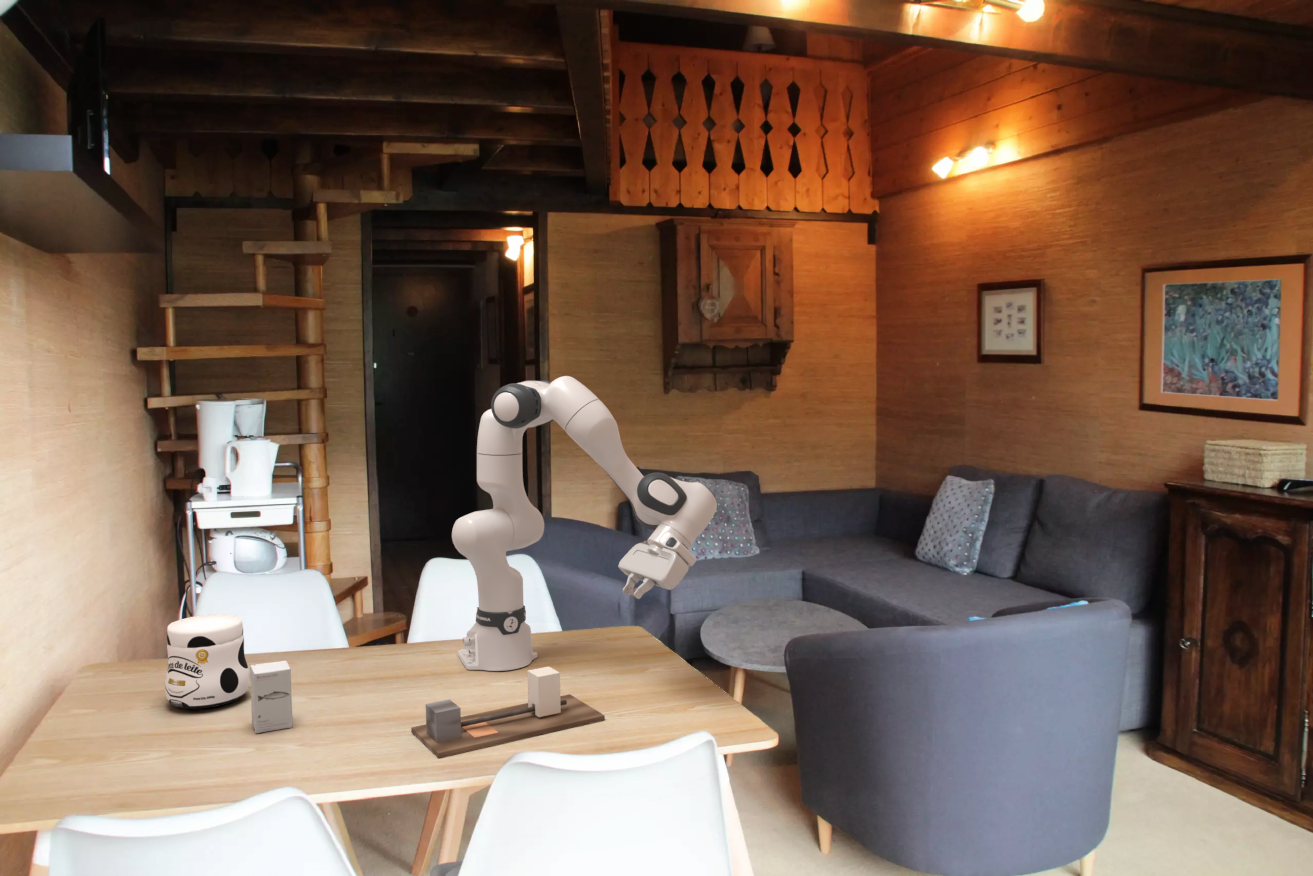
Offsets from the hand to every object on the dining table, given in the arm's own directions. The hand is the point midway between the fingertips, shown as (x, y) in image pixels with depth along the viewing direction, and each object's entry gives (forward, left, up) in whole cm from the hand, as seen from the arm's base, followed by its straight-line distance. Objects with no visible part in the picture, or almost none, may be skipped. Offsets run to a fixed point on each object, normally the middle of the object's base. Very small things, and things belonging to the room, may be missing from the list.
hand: (630, 595), depth 217 cm
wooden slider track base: (0, -29, -23) cm, 38 cm away
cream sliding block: (0, -21, -22) cm, 31 cm away
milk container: (-52, -79, -24) cm, 98 cm away
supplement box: (-28, -70, -24) cm, 79 cm away
